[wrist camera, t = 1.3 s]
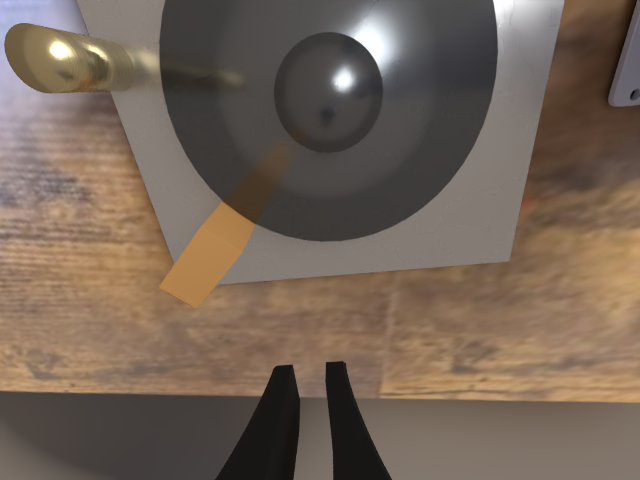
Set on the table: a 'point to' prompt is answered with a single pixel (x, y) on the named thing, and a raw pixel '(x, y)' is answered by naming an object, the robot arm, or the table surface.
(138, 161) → the base plate
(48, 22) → the table surface
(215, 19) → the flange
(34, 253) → the table surface
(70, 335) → the table surface
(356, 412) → the robot arm
